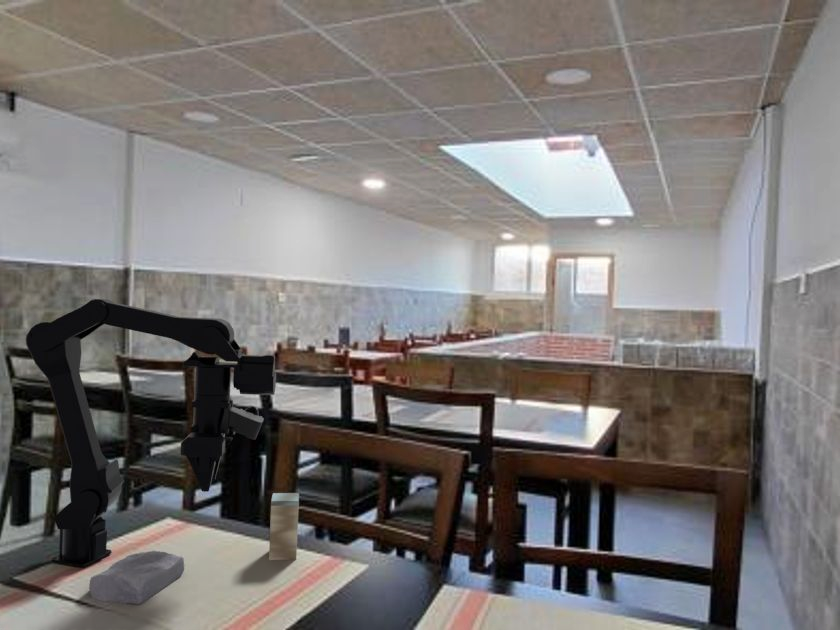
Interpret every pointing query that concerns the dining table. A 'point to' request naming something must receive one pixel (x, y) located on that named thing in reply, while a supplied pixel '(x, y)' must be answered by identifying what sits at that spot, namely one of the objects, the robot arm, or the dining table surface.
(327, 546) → the dining table surface
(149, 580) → the stone block
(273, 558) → the beech block
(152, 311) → the robot arm
